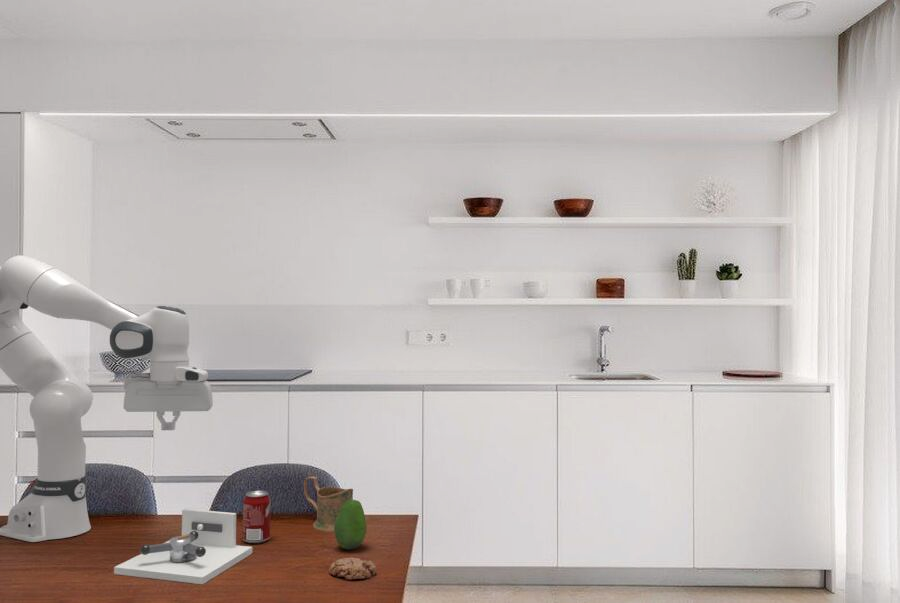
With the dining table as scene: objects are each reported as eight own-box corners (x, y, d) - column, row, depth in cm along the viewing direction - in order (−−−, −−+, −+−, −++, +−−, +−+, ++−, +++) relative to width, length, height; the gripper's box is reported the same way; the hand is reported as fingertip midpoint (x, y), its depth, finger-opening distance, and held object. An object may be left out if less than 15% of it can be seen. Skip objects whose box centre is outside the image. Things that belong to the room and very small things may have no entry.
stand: (113, 574, 161) (114, 530, 161) (172, 544, 181) (173, 506, 181) (202, 584, 155) (203, 539, 156) (252, 553, 176) (253, 513, 176)
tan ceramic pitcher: (319, 513, 211) (320, 471, 211) (364, 524, 201) (365, 480, 201) (289, 522, 202) (289, 479, 202) (334, 534, 191) (335, 488, 192)
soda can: (262, 545, 181) (263, 497, 182) (237, 543, 183) (238, 495, 183) (274, 537, 188) (275, 490, 188) (250, 535, 189) (250, 489, 190)
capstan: (174, 576, 155) (174, 553, 155) (137, 563, 162) (138, 541, 162) (230, 557, 167) (231, 535, 167) (194, 546, 175) (194, 525, 175)
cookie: (332, 566, 168) (332, 553, 168) (378, 567, 168) (378, 554, 168) (325, 582, 158) (325, 568, 158) (373, 582, 158) (374, 568, 158)
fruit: (326, 548, 180) (327, 499, 180) (351, 541, 186) (352, 494, 186) (347, 556, 175) (348, 505, 175) (372, 548, 181) (373, 499, 181)
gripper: (120, 374, 173) (119, 432, 173) (210, 374, 176) (209, 431, 176) (127, 371, 179) (126, 428, 179) (214, 371, 182) (213, 427, 182)
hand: (168, 429), depth 177 cm, fingers closed
